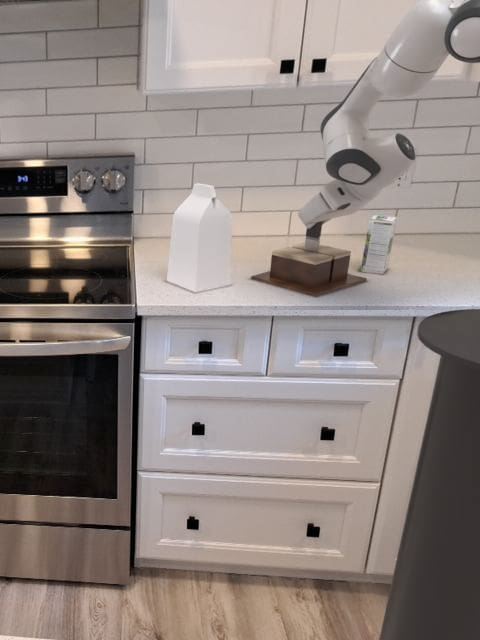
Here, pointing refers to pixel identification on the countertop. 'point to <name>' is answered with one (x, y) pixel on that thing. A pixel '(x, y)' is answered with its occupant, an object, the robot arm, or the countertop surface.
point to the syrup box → (378, 244)
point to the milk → (201, 242)
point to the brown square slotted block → (310, 270)
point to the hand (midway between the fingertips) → (312, 225)
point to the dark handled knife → (313, 238)
